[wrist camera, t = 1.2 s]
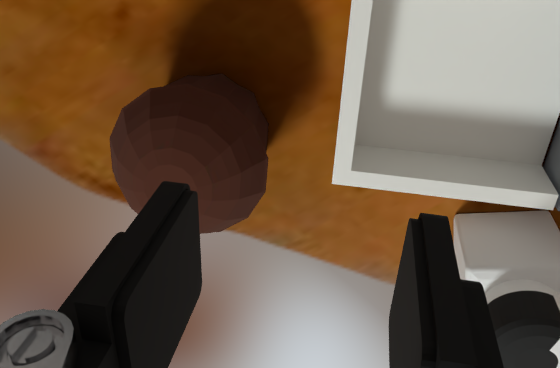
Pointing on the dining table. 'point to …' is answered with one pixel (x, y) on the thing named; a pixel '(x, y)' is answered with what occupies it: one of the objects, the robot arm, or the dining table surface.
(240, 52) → the dining table surface
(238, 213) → the muffin
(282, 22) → the dining table surface
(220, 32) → the dining table surface
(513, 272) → the medicine bottle
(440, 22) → the case
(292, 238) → the dining table surface
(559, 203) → the side door
